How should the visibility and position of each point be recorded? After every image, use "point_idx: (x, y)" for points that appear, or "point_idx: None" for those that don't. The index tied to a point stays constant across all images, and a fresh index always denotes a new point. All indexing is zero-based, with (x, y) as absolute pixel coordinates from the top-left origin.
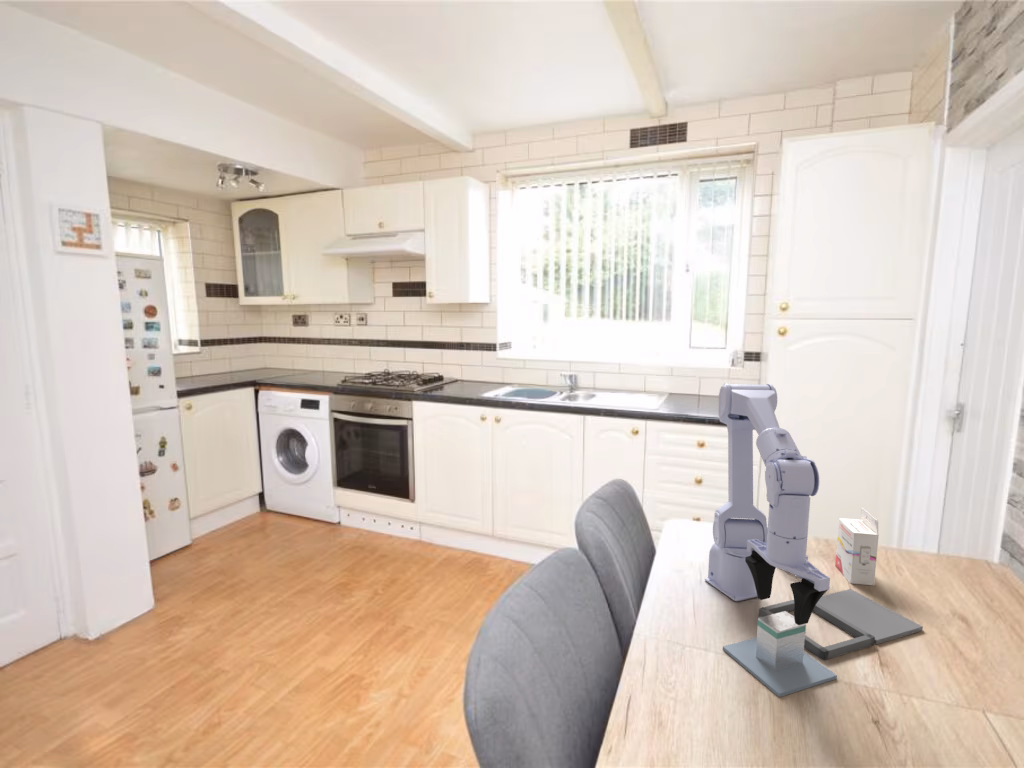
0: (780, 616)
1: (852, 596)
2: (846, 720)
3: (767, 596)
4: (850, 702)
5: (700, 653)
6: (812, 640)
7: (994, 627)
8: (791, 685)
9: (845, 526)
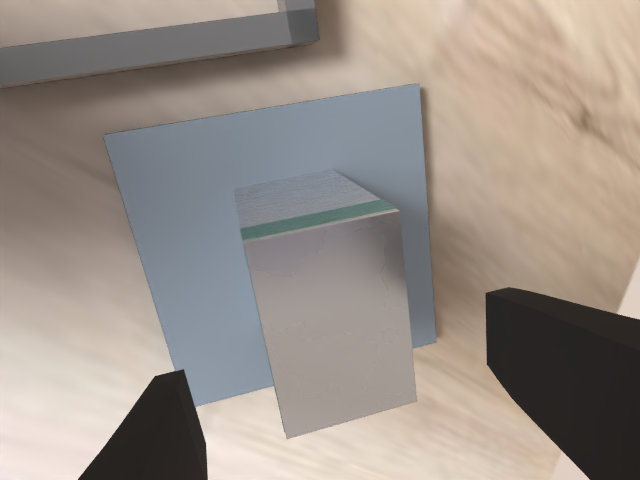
0: (298, 313)
1: None
2: (551, 204)
3: (189, 400)
4: (508, 132)
5: None
6: (228, 23)
7: None
8: (419, 286)
9: None
